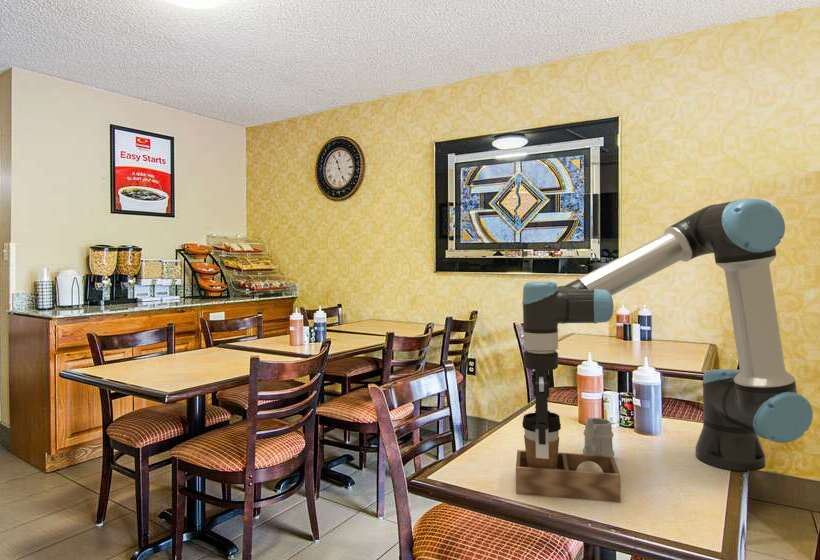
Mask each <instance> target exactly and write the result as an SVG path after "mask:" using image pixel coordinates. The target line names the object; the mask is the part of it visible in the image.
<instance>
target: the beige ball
mask: <svg viewBox="0 0 820 560" xmlns="http://www.w3.org/2000/svg"><path fill="white" fill-rule="evenodd" d="M576 471H588V472H602V473H603V470H602V468H601V467H600V466H599V465H598V464H596V463H595V462H592V461H585V462H582V463H581V464H579V466H578V467H577V469H576Z"/></svg>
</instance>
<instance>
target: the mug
mask: <svg viewBox="0 0 820 560" xmlns="http://www.w3.org/2000/svg"><path fill="white" fill-rule="evenodd" d="M584 420H585V421H584V423H585V424H584V430H583V435H584V447H583V448H582V454H591V455H606V456H613V458H614V457H615V451H614V450H613V449H614V448H613V447H614V446H613V436H614V433H613V430H612V426H613V425H612V422H611V420H609V419H606V418H600V417H590V418H586V419H584Z"/></svg>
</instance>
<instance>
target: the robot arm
mask: <svg viewBox="0 0 820 560" xmlns="http://www.w3.org/2000/svg"><path fill="white" fill-rule="evenodd" d="M785 231H786V223H785V220H784V217H783V215H782V214H781V211H780V210H779V209H778V207H776V206H775V205H773V204H771V203H770V202H769V201H767V200H764V199H761V198H739V199H736V200H732V201H726V202H721V203H717V204H715V203H714V204H711V205H708V206H705V207H703V208H701V209H698V210H697V211H695V212H693V213H692V214H690V215H688V216H686V217H684V218H683V219H681V220H679V221H677V222H676V223H674V224H672V225H671V226H669V227H667V228H665V230H664V233H663V234H661V235H660V236H658V237H656V238H654V239H652V240H650V241H648V242H646V243H645V244H643V245H640V246H638V247H637V248H635V249H633V250H631V251H628V252H627V253H625V254H623V255H621V256H619V257H618V258H615V259H613V260H611V261H609V262H607V263H606V264H604V265H602V266H600V267H598V268H596V269H594V270H593V271H591V272H589V273H587V274H585V275H582V276H581V277H579V278H577V279H575V280H573V281H570V282H569V283H568V284H566V285H558V284H557V282H555V281H529V282H526V283H525V284H524V285H523V286H522V287H523V288H522V292H523V293H522V303H521V304H522V316H523V317H522V321H523V325H522V326H523V334H522V335H521V336H520V340H523V349H525V350H524V352H523V367H524V368H525V369H527V370H531V371H534V374H532V375H531V385H532V387H533V388H532V389H533V397H534V398H535V406H534V409H535V411H534V413H536V425H535V426H533V429H535V431H536V458H544V459H549V441H548V428H549V425H548V412H550V410H548V409H549V408H548V405H549V403H548V398H550V386H551V376H550V374H547V372H548V371H554V370H556V369H557V368H558V367H559V352H557V350H558V349H559V329H558V325H559V324H562V325H563V324H599V323H600V324H601V323H608V322H609V321H611V319H612V317H613V315H614V300H613V297H612V296H614V295H616V294H618V293H619V292H622V291H625V289H627V288H629V287H632V286H634V285H635V284H637V283H639V282H641V281H643V280H645V279H646V278H649V277H651V276H652V275H654V274H657V273H658V272H661V271H662V270H665V269H666V268H669V267H670V266H672V265H674V264H676V263H678V262H680V261H681V262H690V260H692V259H695V258H698V257H701V256H704V255H709V254H713V255H714V256H713V257H714V261H715V265H716V266H718V267H720V268H721V269H722V270H723V271H724V275H725V281H726V283H725V284H726V289H727V295H728V301H729V307H730V308H729V310H730V315H731V322H732V329H733V334H734V335H733V336H734V341H735V347H736V354H737V360H738V361H737V362H738V367H739V369H737V368H736V369H734V368H732V369H727V368H720V369H719V368H717V369H709V370H706V371H705V372H704V373H703V376H702V377H703V378H702V379H703V380H702V393H703V394H702V395H703V396H702V399H703V401H702V406H703V407H702V408H703V409H702V410H703V411H702V412H703V413H702V414H703V415H702V416H703V417H702V419H703V420H702V421H703V423H702V425H703V426H702V429H701V431H700V434H699V437H698V439H697V442H696V444H695V457H696V458H697V459H698V460H700V461H701V462H703V463H705V464H708V465H710V466H712V467H713V466H714V467H715V468H716V467H717V468H720V469H724V470H725V469H726V470H731V471H738V472H756V471H760V470H763V469H764V468H765V467H766V454H765V452H764V450H763V446H762V444H761V441H760V438H761V439H765V440H768V441H771V442H775V443H778V444H786V443H792V442H794V441H796V440H798V439H800V438H801V437H803V435H804V434H805V433H806V431H808V430H809V429H810V427H811V425H812V422H813V417H814V410H813V407H812V405H811V403H810V401H809V400H808V399H807V398H805V397H804V396H803V394H800V393H798V390H797V383H796V378H795V376H794V375H793V374H791V373H790V372H788V371H786V366H785V365H786V364H785V360H784V353H783V346H782V340H781V339H782V338H781V334H780V333H781V332H780V327H779V319H778V312H777V306H776V300H775V293H774V287H773V281H772V272H771V267H770V265H771V263H772V262H773V261H774V260H775V259H776V258H777V251H776V250H777V249H776V247H777V246H779V244H780V243H781V242H782V241H781V239H783V238H784V236H785V233H786V232H785ZM558 369H559V368H558ZM759 437H760V438H759Z"/></svg>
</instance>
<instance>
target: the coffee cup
mask: <svg viewBox="0 0 820 560" xmlns="http://www.w3.org/2000/svg"><path fill="white" fill-rule="evenodd" d="M521 423H522V424H521V425H522V428H523V430H524V435H523V439H524V447H525V448H524V449H525V450H526V458H527V466H528V467H531V468H545V469H556V468H557V458H558V452H559V446H560V437H559V434H560V433H559V431H561V426H562V425H561V420H560V415H559V414H557V413H556V412H552V411H551V412H548V425H549V428H548V441H549V459H544V458H536V431H535V429H533V426H535V425H536V413H535V412H529V413H526V414H524V415H523V417H522V422H521Z"/></svg>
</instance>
